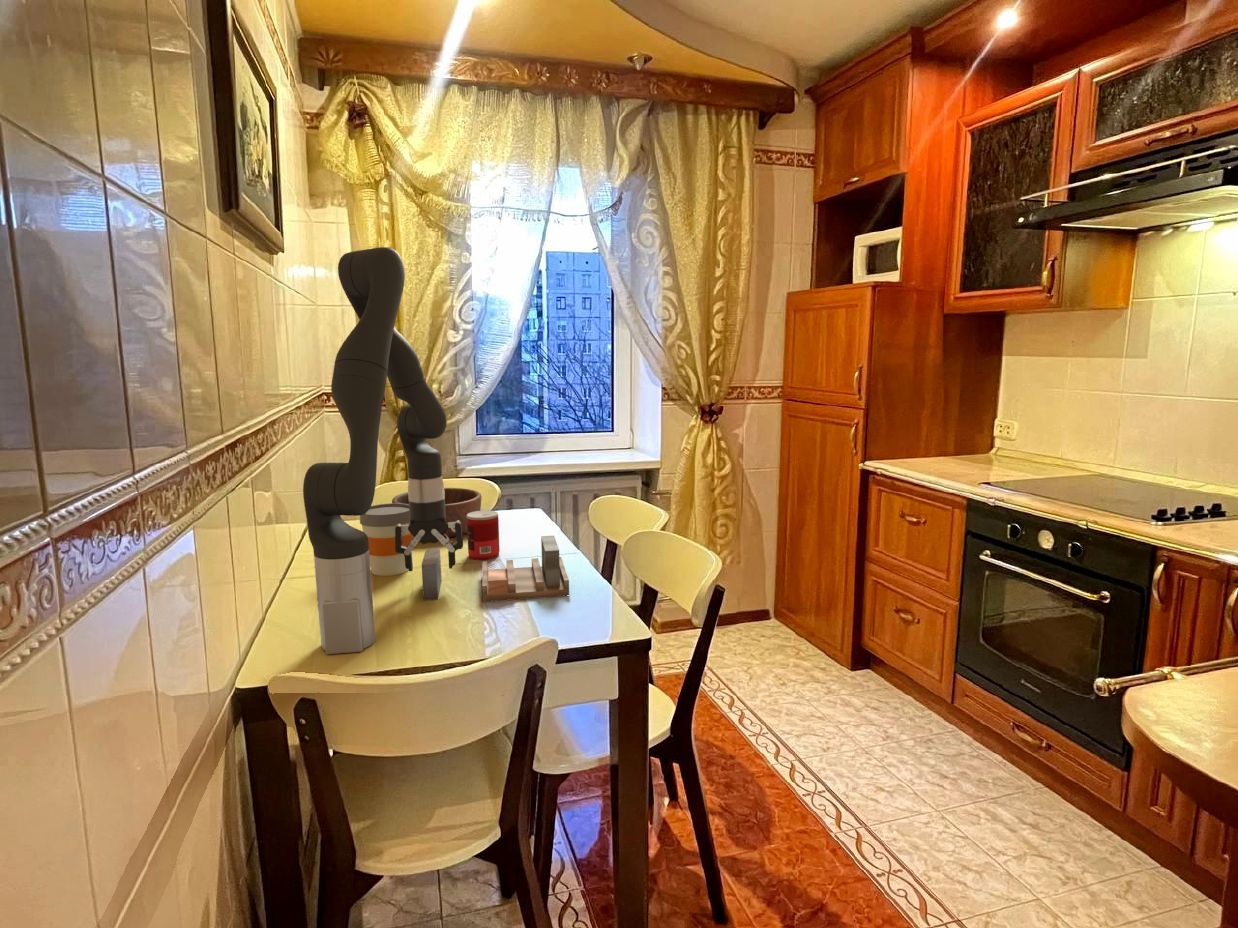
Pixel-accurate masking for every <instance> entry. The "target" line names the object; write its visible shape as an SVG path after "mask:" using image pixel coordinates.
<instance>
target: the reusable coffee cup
mask: <svg viewBox="0 0 1238 928" xmlns="http://www.w3.org/2000/svg"><path fill="white" fill-rule="evenodd" d="M398 523H400V524H402V525H409V524H410V512H409V504H402V503H392V502H391V503H380V504H374V505H371V507H370V509H369V510H368V511H367V512H366V513H365V514H363V515H359V524H360V525H361V527H362V531H363V532H364V533H365V534H366V535H367V536H368V541H369V554H370V570H371V574H373V575H375V576H381V577H382V576H383V577H387V576H396V575H401V574H404V573H407V572H409V569H406V567H405V556H404V554H402V553H396V551H395V528H396V525H397V524H398ZM413 537H414V536H413V535H412V534H411V533H410V532H409V530H407V531H406V532H405V534H404V535H402V546H405V547H407V545H408V544H409V543H410V541H411V539H412V538H413Z"/></svg>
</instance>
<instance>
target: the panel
mask: <svg viewBox="0 0 1238 928" xmlns="http://www.w3.org/2000/svg"><path fill="white" fill-rule="evenodd" d="M441 561H442V560H441V548H440V547H431V548H430V547H429V548H425V551H424V556H423V558H422V562H421V579H422V596H423V597H422V599H423V601H435V600H436V601H437V600H439V597H440V591H441V586H442V581H443V580H442V564H441V563H442V562H441Z"/></svg>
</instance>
